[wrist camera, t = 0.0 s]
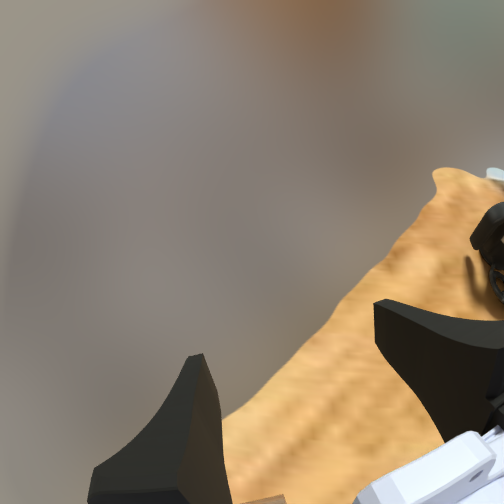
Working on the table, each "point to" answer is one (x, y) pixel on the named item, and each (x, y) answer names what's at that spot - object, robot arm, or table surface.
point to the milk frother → (492, 243)
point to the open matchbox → (270, 500)
